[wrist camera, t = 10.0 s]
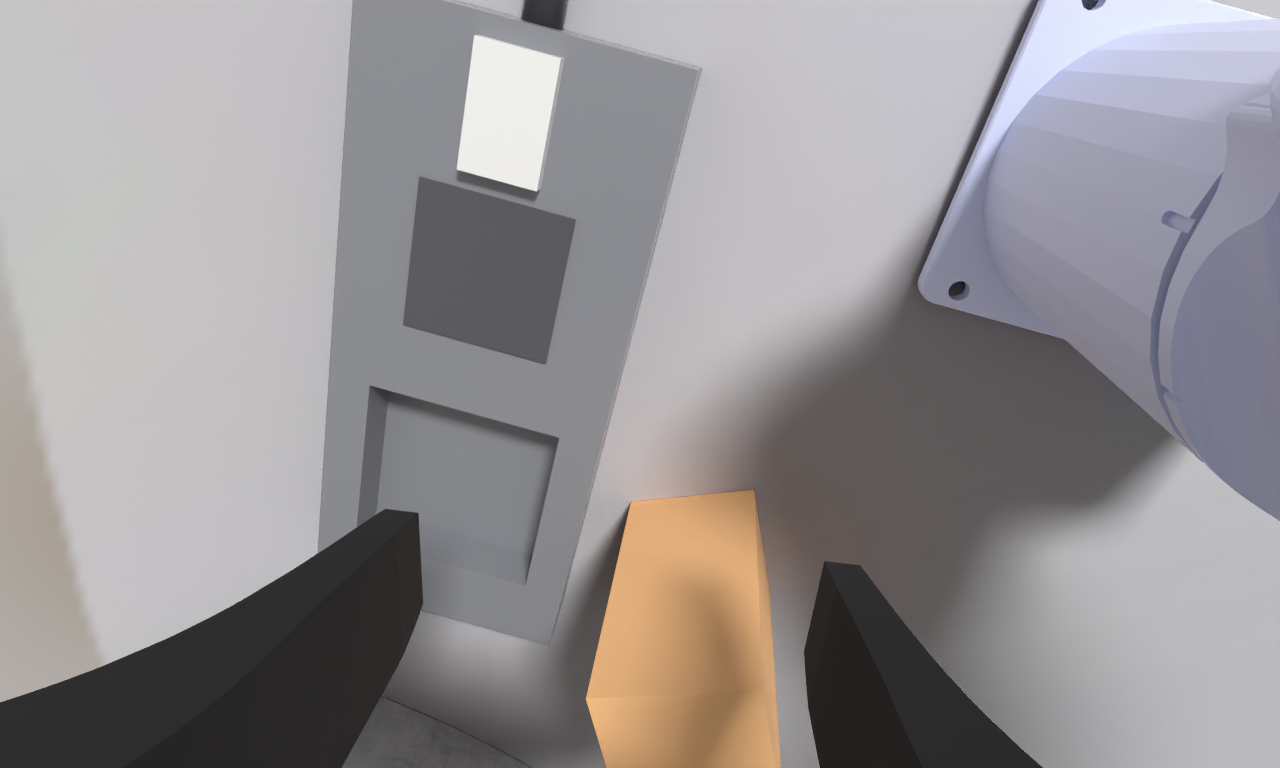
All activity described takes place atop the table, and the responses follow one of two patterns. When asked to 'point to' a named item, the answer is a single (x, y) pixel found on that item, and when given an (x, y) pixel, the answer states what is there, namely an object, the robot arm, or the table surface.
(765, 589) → the plug
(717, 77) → the table surface
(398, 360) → the power strip
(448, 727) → the hip flask
